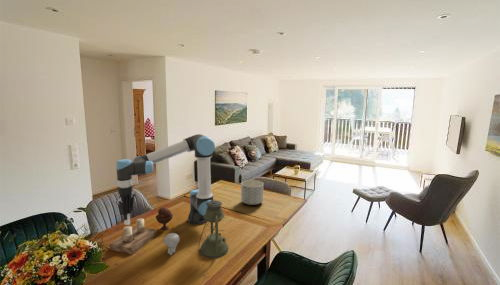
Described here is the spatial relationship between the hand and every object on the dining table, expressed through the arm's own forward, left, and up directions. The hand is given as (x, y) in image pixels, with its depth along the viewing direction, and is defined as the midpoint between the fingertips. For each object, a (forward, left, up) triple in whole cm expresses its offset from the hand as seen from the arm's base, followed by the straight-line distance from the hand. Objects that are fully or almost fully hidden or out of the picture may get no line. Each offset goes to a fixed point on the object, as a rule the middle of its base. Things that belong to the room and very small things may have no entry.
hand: (127, 224), depth 151 cm
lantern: (-50, -12, -15) cm, 53 cm away
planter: (-54, -86, -15) cm, 103 cm away
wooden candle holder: (0, -5, -14) cm, 15 cm away
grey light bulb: (-29, -1, -15) cm, 32 cm away
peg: (0, 0, -14) cm, 14 cm away
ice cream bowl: (-8, -25, -15) cm, 30 cm away
